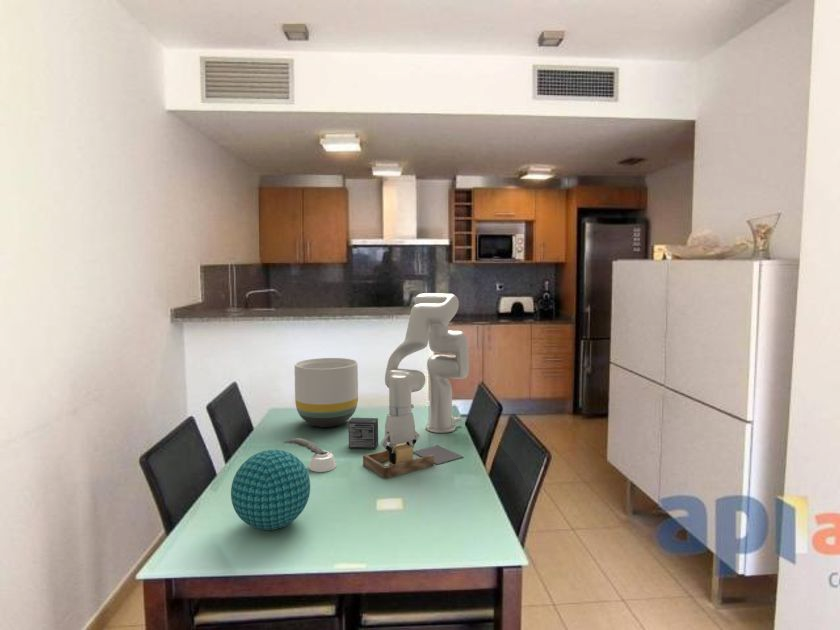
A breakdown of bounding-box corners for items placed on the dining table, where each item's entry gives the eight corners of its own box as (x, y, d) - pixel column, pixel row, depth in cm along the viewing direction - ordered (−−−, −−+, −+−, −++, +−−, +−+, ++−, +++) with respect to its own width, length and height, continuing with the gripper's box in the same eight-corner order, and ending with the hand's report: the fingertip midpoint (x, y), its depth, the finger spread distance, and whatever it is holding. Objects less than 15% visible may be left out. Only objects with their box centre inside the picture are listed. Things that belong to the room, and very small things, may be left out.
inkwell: (334, 472, 174) (333, 443, 173) (280, 472, 174) (279, 443, 173) (338, 462, 183) (337, 434, 183) (286, 462, 183) (286, 434, 182)
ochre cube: (403, 459, 185) (403, 442, 185) (412, 464, 180) (412, 447, 180) (388, 462, 182) (388, 446, 181) (398, 468, 177) (398, 451, 176)
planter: (308, 414, 243) (307, 357, 240) (364, 416, 239) (364, 358, 237) (285, 432, 216) (284, 368, 214) (348, 435, 213) (348, 369, 210)
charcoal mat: (437, 446, 200) (437, 445, 199) (463, 457, 187) (463, 456, 187) (412, 452, 193) (412, 451, 193) (436, 464, 180) (436, 463, 180)
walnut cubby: (410, 453, 192) (410, 444, 191) (433, 465, 180) (433, 455, 180) (363, 465, 180) (363, 455, 180) (385, 478, 169) (384, 468, 168)
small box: (379, 443, 202) (378, 417, 201) (375, 449, 196) (375, 422, 195) (352, 443, 203) (351, 416, 202) (348, 448, 197) (347, 421, 196)
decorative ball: (293, 548, 127) (291, 468, 125) (216, 541, 130) (213, 463, 128) (321, 510, 147) (320, 441, 145) (254, 505, 150) (252, 437, 148)
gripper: (414, 403, 187) (415, 452, 189) (372, 411, 177) (373, 463, 179) (427, 408, 181) (427, 458, 183) (384, 417, 171) (385, 470, 173)
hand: (400, 460), depth 181 cm, fingers closed on ochre cube, 6 cm apart
